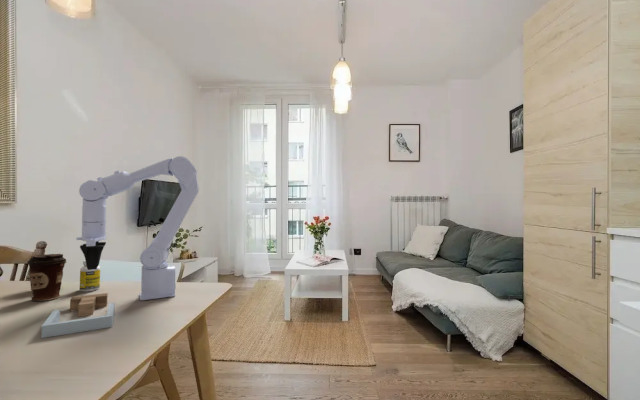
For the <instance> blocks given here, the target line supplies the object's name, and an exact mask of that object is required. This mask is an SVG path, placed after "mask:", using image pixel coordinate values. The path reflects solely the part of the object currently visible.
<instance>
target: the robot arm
mask: <svg viewBox="0 0 640 400" xmlns="http://www.w3.org/2000/svg"><path fill="white" fill-rule="evenodd" d="M113 173H114V174H110V175H107V176H104V177H97V178H96V180H93V179H91V180H90V179H88V180H87V181H85V182H83V183H82V184H81V185H80V187H79V190H78V192H79V193H78V194H79V195H80V197H81V198H82V205H81V208H82V209H81V214H82V215H81V236H78V237H76V241H82V242H85V243H82V244H81V245H79V248H80V250H81V252H82V254H83V256H84V260H86V265H87V269H88V270H92V269H97V267H98V266H100V261H101V257H102V253H103V250H104V248H105V246H106V245H107V242H106V241H105V240H106V239H107V236H106V233H107V232H106V229H107V225H106V224H107V199H108V198H109V197H112V196H115V195H118V194H120V193H123V192H126V191H129V190H131V189H133V187H135V184H136V183H139V182H141V181H145V180H148V179H152V178H155V177H158V176H159V177H160V176H162V175H164V176H170V177H173V176H174V177H175V178H176V179H177V182H178V184H179V187H180V189H181V191H180V193H179V194H178V196H177V198H176V199H175V201H174V203H173V205H172V206H171V209H170V210H169V212H168V214H167V216H166V218H165V220H164V221H163V224H162V225H161V227H160V229H159V231H158V233H156V236H155V237H154V238H153V240H152V241H151V243H150V245H148V247H146V248H145V249H144V250H143V251H142V252H141V254H140V257H139V259H140V264H141V279H140V280H141V282H140V283H141V288H140V292H139V301H147V300H155V299H164V298H171V297H172V298H173V297H175V296H176V288H177V287H176V266H175V265H169V263H168V262H167V261H166V260H167V259H168V258H169V256H170V255H169V254H170V253H169V252H170V247H171V245H172V242H173V240H174V238H175V236H176V235H177V233H178V231H179V229H180V227H181V225H182V224H183V221H184V219H185V218H186V216H187V214H188V212H189V211H190V208H191V206H192V205H193V203H194V201H195V199H196V197H197V195H198V194H199V190H200V186H199V179H198V171H197V169H196V168H195V166H194V164H193V163H192V162H191V160H190V159H189V158H187V157H185V156H182V155H181V156H180V155H179V156H175V157H174V158H166V159H164V160H161V161H158V162H155V163H153V164H150V165H148V166H145V167H142V168H141V169H138V170H135V171H132V172H128V171H124V170H122V171H120V170H116V171H114V172H113Z"/></svg>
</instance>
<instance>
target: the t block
mask: <svg viewBox="0 0 640 400" xmlns="http://www.w3.org/2000/svg"><path fill="white" fill-rule="evenodd" d="M108 297H109V296H108V292H104V293H103V292H102V293H95V294H94V293H93V294H86V295H78V296H77V295H75V296H71V298H70V300H69V311H70V312H71V311H72V312H74V311H75V312H76V311H78V315H77V316H78V317H84V316H85V317H86V316H92V315H94V313H95V310H96V308H97V309H98V308H105V307H107V306H108Z"/></svg>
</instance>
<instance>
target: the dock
mask: <svg viewBox="0 0 640 400" xmlns="http://www.w3.org/2000/svg"><path fill="white" fill-rule="evenodd" d="M115 309H116V303H115V302H109V304H108V307H107V311H106V315H99V316H92V317H91V316H90V317H86V318H79V319H72V320H71V319H70V320H65V321H60V320H61V309H54V310H52V312H51V313H50V315H49V316H48V317H47V318H46V320H45V321H44V323H43V324H42V325H41V339H43V338H51V337H58V336H62V335H68V334H74V333H76V334H77V333H82V332H89V331H95V330H101V329H107V328H113V322H114V317H115V312H116V310H115Z"/></svg>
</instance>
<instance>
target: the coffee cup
mask: <svg viewBox="0 0 640 400" xmlns="http://www.w3.org/2000/svg"><path fill="white" fill-rule="evenodd" d="M30 256H31V257H30V259H29V260H28V261H27V262H26V264H27V265H28V267H29V268H28V269H29V270H28V274H29V282H30V290H31V292H32V296H31V301H33V302H42V301H50V300H51V301H52V300H57V299H59V298H61V296H60V291H61V287H62V281H63V276H64V268H65V266H64V264H65V265H66V263H67V259H66V258H64V254H63V253H49V254H35V255H30Z"/></svg>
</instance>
